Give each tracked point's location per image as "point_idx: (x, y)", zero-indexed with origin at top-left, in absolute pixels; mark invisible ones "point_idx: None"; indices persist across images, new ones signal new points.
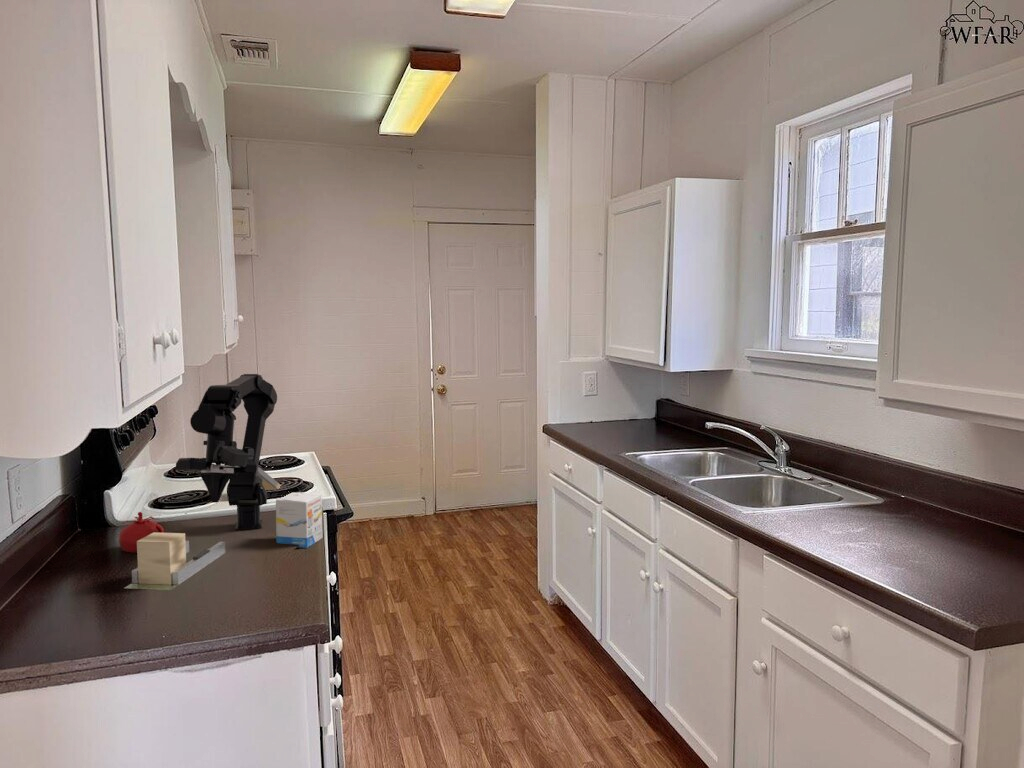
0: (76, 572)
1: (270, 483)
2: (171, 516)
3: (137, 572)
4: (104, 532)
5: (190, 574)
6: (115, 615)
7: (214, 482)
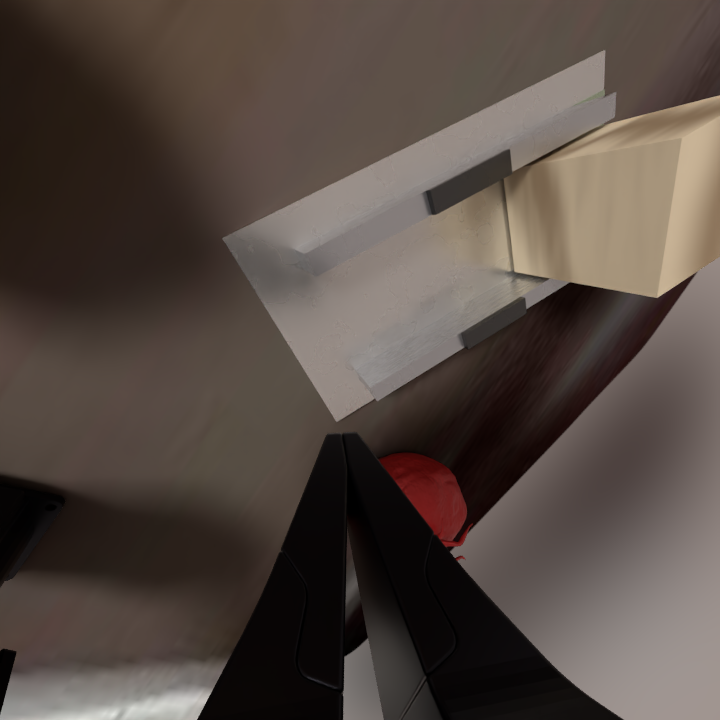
0: (520, 431)
1: None
2: (173, 695)
3: None
4: (349, 624)
5: (518, 135)
6: None
7: (501, 623)
